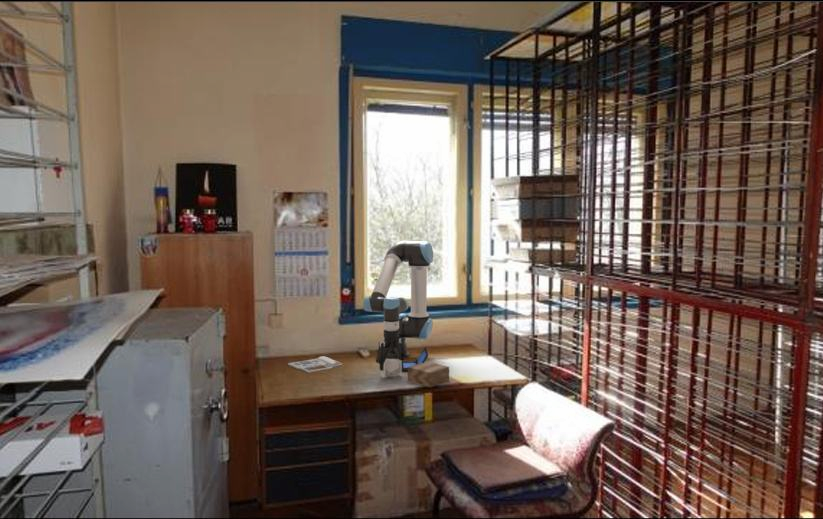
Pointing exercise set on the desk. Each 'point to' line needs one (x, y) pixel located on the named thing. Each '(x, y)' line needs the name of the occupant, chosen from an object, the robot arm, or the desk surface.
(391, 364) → the die
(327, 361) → the office telephone
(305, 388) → the desk surface
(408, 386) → the desk surface
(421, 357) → the handheld game console
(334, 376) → the desk surface
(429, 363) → the walnut block
